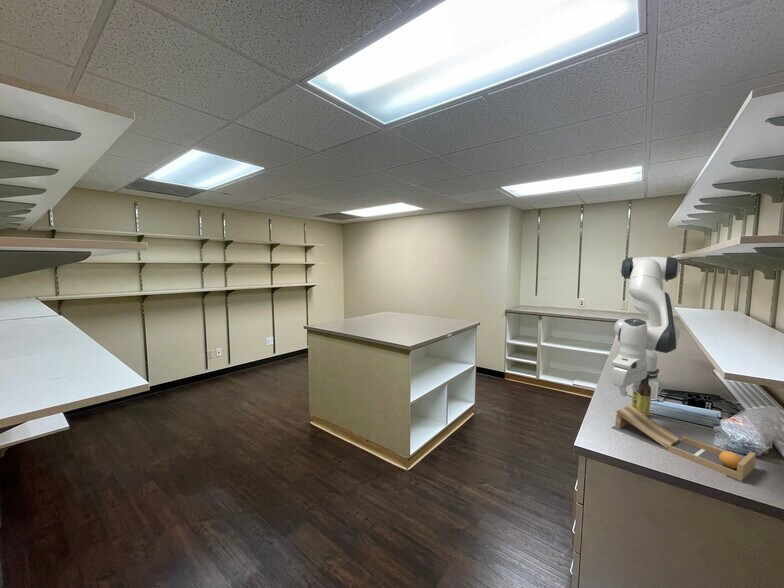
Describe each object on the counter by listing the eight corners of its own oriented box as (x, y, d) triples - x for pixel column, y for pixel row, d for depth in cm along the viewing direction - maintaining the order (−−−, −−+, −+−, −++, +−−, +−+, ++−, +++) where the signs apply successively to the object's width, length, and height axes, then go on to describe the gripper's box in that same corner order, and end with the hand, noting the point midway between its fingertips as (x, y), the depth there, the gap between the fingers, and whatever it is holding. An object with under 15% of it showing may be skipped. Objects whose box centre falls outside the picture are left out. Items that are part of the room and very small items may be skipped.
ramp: (626, 421, 134) (628, 404, 134) (679, 441, 119) (681, 422, 119) (614, 427, 129) (615, 410, 129) (668, 449, 114) (670, 429, 114)
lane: (626, 420, 136) (627, 408, 135) (755, 469, 104) (757, 453, 103) (610, 428, 129) (611, 415, 129) (742, 482, 97) (744, 466, 97)
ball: (720, 448, 108) (740, 450, 104) (726, 464, 107) (746, 467, 103) (713, 452, 106) (733, 455, 102) (719, 468, 105) (739, 471, 101)
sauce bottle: (630, 411, 145) (634, 368, 143) (648, 415, 141) (652, 371, 140) (631, 416, 140) (634, 372, 138) (649, 420, 136) (653, 375, 134)
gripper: (635, 353, 136) (632, 384, 137) (610, 361, 125) (607, 395, 127) (653, 357, 130) (650, 389, 132) (628, 366, 120) (625, 401, 122)
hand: (629, 392), depth 129 cm, fingers open, 8 cm apart
